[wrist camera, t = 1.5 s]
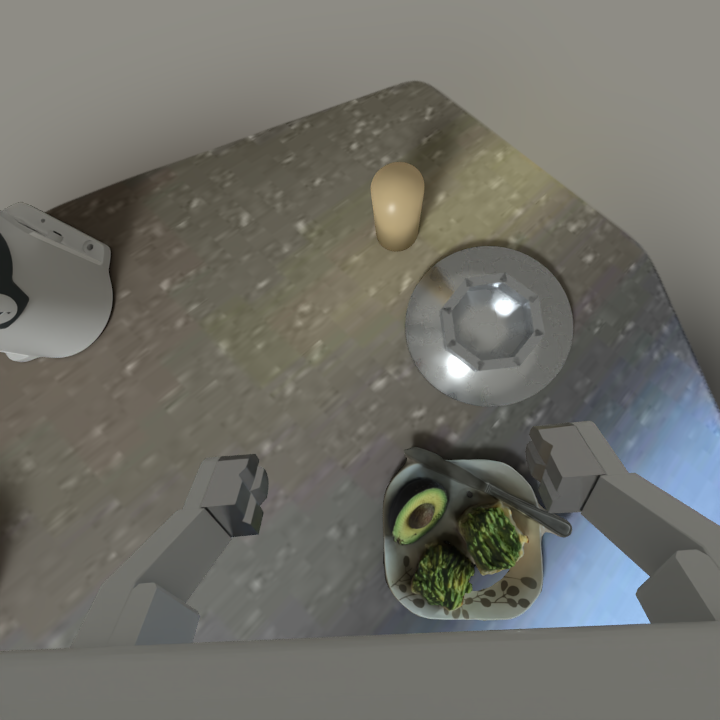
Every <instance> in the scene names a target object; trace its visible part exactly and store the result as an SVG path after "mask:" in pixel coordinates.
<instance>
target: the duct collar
mask: <svg viewBox="0 0 720 720" xmlns="http://www.w3.org/2000/svg"><path fill="white" fill-rule="evenodd" d="M405 332H406V340H407V345H408V349H409V352H410V355H411V357H412V359H413V361H414V363H415V365H416V367H417V368H418V370H419V371H420V373H421V374H422V375H423V376H424V378H425V379H426V380H427V381H428V382H429V383H430V384H431V385H433V386H434V387H435V388H436V389H437V390H439V391H440V392H442V393H443V394H445V395H447V396H449V397H451V398H453V399H455V400H458V401H460V402H463V403H467V404H472V405H476V406H487V407H490V406H503V405H509V404H513V403H516V402H519V401H522V400H524V399H527V398H529V397H531V396H533V395H534V394H536V393H537V392H539V391H541V390H542V389H543V388H544V387H545V386H547V385H548V384H549V383H550V382H551V381H552V380H553V379H554V377H555V376H556V375H557V374H558V372H559V371H560V369H561V368H562V366H563V365H564V363H565V360H566V358H567V356H568V353H569V350H570V347H571V343H572V337H573V317H572V311H571V307H570V303H569V301H568V298H567V296H566V293H565V292H564V290H563V288H562V286H561V285H560V283H559V282H558V280H557V279H556V278H555V277H554V275H553V274H552V273H551V272H550V271H549V270H548V269H547V268H546V267H544V266H543V265H542V264H541V263H539V262H538V261H537V260H535V259H533V258H531V257H530V256H528V255H526V254H523V253H521V252H519V251H516V250H512V249H509V248H504V247H497V246H481V247H473V248H468V249H464V250H461V251H458V252H455V253H453V254H451V255H449V256H447V257H445V258H444V259H442V260H441V261H439V262H438V263H436V264H435V265H434V266H433V267H432V268H431V269H429V270H428V272H427V273H426V274H425V275H424V276H423V277H422V278H421V280H420V281H419V283H418V284H417V286H416V288H415V289H414V291H413V293H412V296H411V298H410V301H409V304H408V308H407V313H406V322H405Z"/></svg>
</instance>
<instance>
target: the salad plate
mask: <svg viewBox="0 0 720 720" xmlns="http://www.w3.org/2000/svg"><path fill="white" fill-rule="evenodd" d="M404 453H405V456H406V457H407V462H406V463H405V465H404V466H403V467H402V468H401V469H400V470H399V471H398V472H397V474H396V475H395V476H394V477H393V478H392V480H391V481H390V484H389V485H388V486H387V489H386V492H385V495H384V501H383V537H384V554H383V564H384V571H385V580H386V583H387V585H388V587H389V588H390V590H391V592H392V593H393V595H394V596H395V597H396V599H397V600H398V601H399V602H400V603H401V604H403V605H404V606H405V607H406V608H407V609H408V610H410V611H411V612H412V613H414V614H416V615H418V616H420V617H425V618H428V619H454V620H456V619H465V620H471V619H475V620H483V621H486V620H505V619H513V618H516V617H518V616H519V615H521V614H523V613H524V612H525V611H526V610H527V609H528V608H529V607H530V606H531V605H532V604H533V603H534V601H535V600H536V599H537V597H538V596H539V594H540V592H541V591H542V585H543V563H542V560H543V557H542V547H541V541H542V536H543V534H544V533H545V532H549V533H553V534H555V535H557V536H559V537H567V536H569V535H570V534H571V532H572V526H571V524H570V523H569V522H568V521H567V520H565V519H563V518H561V517H559V516H557V515H555V514H553V513H548V512H547V510H546V509H544V508H543V507H541V505H540V504H539V503H538V501H537V498H536V496H535V494H534V491H533V489H532V487H531V486H530V484H529V483H528V482H527V481H526V480H525V479H524V477H523V476H521V475H520V474H519V473H518V472H517V471H516V470H514V469H513V468H512V467H510V466H509V465H507V464H505V463H503V462H498V461H493V460H484V459H471V460H444V459H442V458H441V456H439V455H437V454H435V453H433V452H430V451H427V450H425V449H422V448H418V447H412V448H410V449H406V450H404ZM468 491H471V492H472V493H473V497H472V498H469V497H468V496H467V492H468ZM445 541H447V542H449V543H450V544H447V543H446V542H445ZM475 564H476V566H477V568H478V570H479V571H480V573H481V574H482V575H487V574H494V573H497V572H500V571H501V570H504V569H509V568H510V570H509V571H508V572H507V574H506V575H505V576H504V577H503V578H502V579H501V580H500V581H498V582H497V583H495V584H494V585H493V586H491V587H489V588H486V589H482V590H480V591H472V584H471V583H469V580H470V576H473V574H474V572H475V571H474V565H475ZM471 591H472V592H471Z"/></svg>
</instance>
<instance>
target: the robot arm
mask: <svg viewBox="0 0 720 720" xmlns="http://www.w3.org/2000/svg"><path fill="white" fill-rule="evenodd" d="M92 248H93V249H92ZM110 258H111V251H110V248H109V247H108V246H107V245H106V244H104V243H102V242H100V241H98V240H96V239H95V238H93V237H91V236H89V235H87V234H85V233H83V232H81V231H79V230H77V229H75V228H73V227H71V226H70V225H68V224H66V223H64V222H62V221H60V220H58V219H56V218H54V217H52V216H50V215H48V214H47V213H45V212H43V211H41V210H39V209H37V208H35V207H33V206H31V205H28V204H25V203H23V202H18V203H16V204H13V205H11V206H9V207H7V208H6V209H4V210H3V211H1V210H0V352H5V353H6V354H7V356H8V357H9V358H10V359H11V360H13V361H18V362H26V361H30V360H33V359H35V358H38V357H52V358H61V357H67V356H71V355H74V354H76V353H78V352H80V351H82V350H84V349H85V348H87V347H88V346H89V345H91V344H92V343H93V342H94V341H95V340H96V339H97V338H98V336H99V335H100V334H101V332H102V331H103V329H104V327H105V326H106V324H107V321H108V319H109V316H110V313H111V309H112V302H113V292H112V285H111V281H110V276H109V265H110ZM529 435H530V437H531V439H532V441H530V442H529V443H528V444H527V446H526V451H525V452H526V461H527V465H528V468H529V471H530V473H531V475H532V477H533V478H535V479H536V480H537V481H539V482H540V486H539V490H538V492H539V494H540V496H541V499H542V501H543V503H544V505H545V508H546V510H547V512H548V513H570V512H581V514H582V515H583V516H584V517H585V518H586V519H587V520H588V521H589V522H590V523H591V524H593V525H594V526H595V527H596V528H597V529H598V530H599V531H600V532H601V533H603V534H604V535H605V536H606V537H607V538H608V539H609V540H610V541H611V542H612V543H614V544H615V545H616V546H617V547H618V548H619V549H620V550H621V551H622V552H623V553H625V554H626V555H627V556H628V557H629V558H630V559H631V560H632V561H633V562H635V563H636V564H637V565H638V566H639V567H640V568H641V569H642V570H643V571H644V572H646V573H647V574H648V575H649V576H650V578H648V579H647V580H646V581H645V582H644V583H643V584H642V585H641V586H640V587H639V588H638V590H637V592H636V596H637V598H638V600H639V602H640V604H641V606H642V608H643V610H644V611H645V613H646V615H647V617H648V619H649V621H650V623H651V624H628V625H605V626H581V627H558V628H534V629H510V630H487V631H463V632H440V633H416V634H393V635H369V636H346V637H322V638H299V639H275V640H251V641H228V642H204V643H193V639H194V636H195V632H196V629H197V625H198V621H199V618H200V615H199V613H198V611H196V610H195V609H193V608H192V607H190V606H189V605H187V604H186V602H187V600H188V599H189V597H190V596H191V595H192V593H193V592H194V591H195V589H196V588H197V586H198V585H199V584H200V582H201V581H202V579H203V578H204V577H205V575H206V574H207V573H208V571H209V570H210V568H211V567H212V566H213V564H214V563H215V561H216V560H217V559H218V557H219V556H220V555H221V553H222V552H223V550H224V549H225V548H226V546H227V545H228V544H229V542H230V541H231V539H232V538H231V537H240V536H250V535H259V530H260V526H261V521H262V517H263V511H262V509H261V507H260V505H261V504H262V503H263V502H264V501H265V500H266V498H267V494H268V476H267V473H266V471H265V469H264V468H263V467H261V466H259V465H258V463H259V459H258V457H257V456H256V454H247V455H234V456H220V457H209V458H205V459H204V460H203V462H202V463H201V465H200V467H199V470H198V472H197V474H196V477H195V479H194V482H193V484H192V487H191V489H190V491H189V494H188V496H187V499H186V501H185V504H184V506H183V508H182V510H177V511H176V512H175V513H174V514H173V515H172V516H171V517H170V518H169V519H168V520H167V521H166V522H165V523H164V524H163V525H162V526H161V527H160V528H159V529H158V530H157V531H156V532H155V533H154V534H153V535H152V536H151V537H150V538H149V539H147V540H146V541H145V542H144V543H143V544H142V545H141V546H140V547H139V548H138V549H137V550H136V551H135V552H134V553H133V554H132V555H131V556H130V557H129V558H128V559H127V560H126V561H125V562H124V563H123V564H122V565H121V566H120V567H119V568H118V569H117V570H116V571H115V572H114V573H113V574H112V575H111V576H110V577H109V578H108V579H107V580H106V581H105V582H104V583H103V584H102V585H101V587H100V589H99V591H98V593H97V595H96V597H95V599H94V601H93V603H92V605H91V607H90V609H89V611H88V613H87V615H86V617H85V619H84V621H83V623H82V625H81V627H80V629H79V631H78V633H77V635H76V637H75V639H74V640H73V642H72V644H71V646H70V648H63V649H39V650H16V651H0V720H720V526H719V525H717V524H716V523H714V522H713V521H711V520H709V519H708V518H706V517H705V516H703V515H701V514H700V513H698V512H697V511H695V510H693V509H692V508H690V507H689V506H687V505H685V504H684V503H682V502H681V501H679V500H677V499H676V498H674V497H673V496H671V495H670V494H668V493H666V492H665V491H663V490H662V489H660V488H658V487H657V486H655V485H654V484H652V483H650V482H649V481H647V480H646V479H644V478H642V477H641V476H639V475H638V474H636V473H628V471H627V470H626V468H625V467H624V465H623V464H622V462H621V461H620V460H619V458H618V457H617V455H616V454H615V452H614V451H613V449H612V448H611V447H610V445H609V444H608V442H607V441H606V439H605V438H604V436H603V435H602V434H601V432H600V431H599V429H598V428H597V426H596V425H595V424H594V423H593V422H591V421H583V422H575V423H560V424H551V425H542V426H533V427H532V428H531V430H530V434H529Z"/></svg>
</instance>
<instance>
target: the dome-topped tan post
mask: <svg viewBox="0 0 720 720" xmlns="http://www.w3.org/2000/svg"><path fill="white" fill-rule="evenodd" d="M424 187H425V185H424V179H423V176H422V175H421V173H420V172H419V170H418V169H417V168H415V167H414V166H412V165H411V164H408V163H404V162H394V163H390V164H387V165H385V166H384V167H382V168H381V169H380V170H379V171H378V172H377V173H376V174H375V176H374V178H373V180H372V183H371V196H372V204H373V212H374V220H375V228H376V236H377V239H378V241H379V243H380V244H381V245H382V246H383V247H384V248H386V249H388V250H390V251H403V250H405V249H407V248H409V247H410V246H411V245H412V244H413V243H414V242H415V240H416V238H417V235H418V229H419V223H420V216H421V209H422V202H423V195H424Z"/></svg>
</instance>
